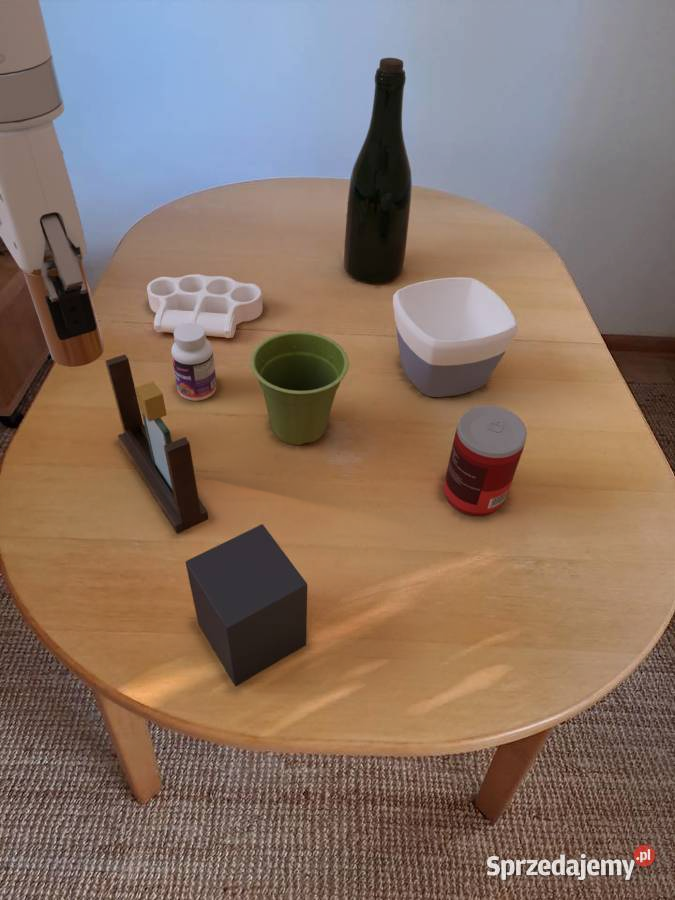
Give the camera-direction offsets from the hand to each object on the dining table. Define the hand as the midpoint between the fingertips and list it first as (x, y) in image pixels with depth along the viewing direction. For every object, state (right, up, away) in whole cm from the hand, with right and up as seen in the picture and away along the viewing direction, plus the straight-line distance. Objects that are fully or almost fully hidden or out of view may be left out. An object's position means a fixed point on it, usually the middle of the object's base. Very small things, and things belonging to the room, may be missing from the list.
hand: (66, 315), depth 58 cm
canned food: (+40, -17, +25) cm, 50 cm away
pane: (+3, -15, +21) cm, 26 cm away
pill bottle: (+4, -3, +36) cm, 36 cm away
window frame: (+2, -15, +24) cm, 28 cm away
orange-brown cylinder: (0, -3, +3) cm, 4 cm away
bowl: (+39, 0, +41) cm, 56 cm away
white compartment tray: (+2, +10, +48) cm, 49 cm away
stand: (+15, -30, +10) cm, 35 cm away
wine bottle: (+30, +20, +60) cm, 69 cm away
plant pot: (+18, -9, +31) cm, 37 cm away
